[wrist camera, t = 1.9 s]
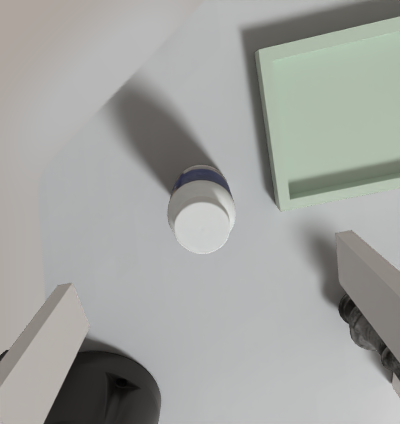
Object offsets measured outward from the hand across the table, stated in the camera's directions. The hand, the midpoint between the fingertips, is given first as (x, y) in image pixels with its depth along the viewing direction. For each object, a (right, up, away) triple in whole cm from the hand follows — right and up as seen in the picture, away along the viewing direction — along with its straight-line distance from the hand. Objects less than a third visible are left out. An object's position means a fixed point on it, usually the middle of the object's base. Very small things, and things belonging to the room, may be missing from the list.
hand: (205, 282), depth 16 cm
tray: (+17, +13, +13) cm, 25 cm away
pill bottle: (0, +6, +16) cm, 17 cm away
